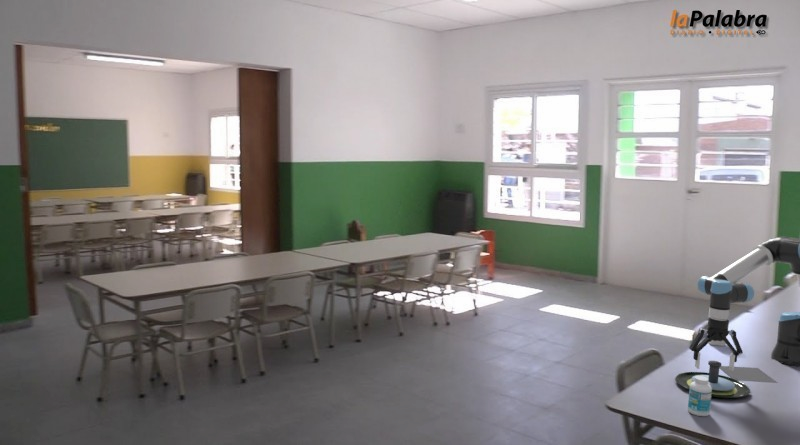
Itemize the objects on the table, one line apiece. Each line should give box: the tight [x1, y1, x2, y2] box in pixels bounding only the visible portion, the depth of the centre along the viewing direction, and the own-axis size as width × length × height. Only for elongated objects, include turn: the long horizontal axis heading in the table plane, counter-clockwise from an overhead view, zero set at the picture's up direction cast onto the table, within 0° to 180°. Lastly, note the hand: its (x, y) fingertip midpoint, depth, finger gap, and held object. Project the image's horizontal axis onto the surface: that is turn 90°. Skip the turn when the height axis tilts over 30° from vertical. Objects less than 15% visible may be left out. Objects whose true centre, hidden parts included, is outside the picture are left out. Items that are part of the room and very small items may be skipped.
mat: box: [719, 365, 778, 384], centre depth 280 cm, size 18×18×1 cm
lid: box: [692, 360, 735, 392], centre depth 263 cm, size 16×16×9 cm
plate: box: [674, 371, 751, 399], centre depth 264 cm, size 28×28×2 cm
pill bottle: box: [687, 376, 713, 417], centre depth 237 cm, size 8×7×14 cm
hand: (714, 368), depth 263 cm, fingers open, 13 cm apart
